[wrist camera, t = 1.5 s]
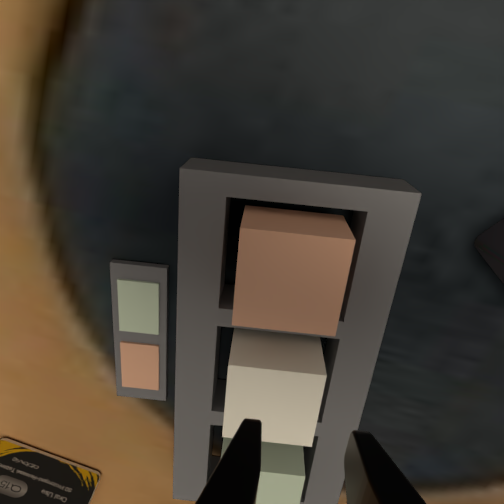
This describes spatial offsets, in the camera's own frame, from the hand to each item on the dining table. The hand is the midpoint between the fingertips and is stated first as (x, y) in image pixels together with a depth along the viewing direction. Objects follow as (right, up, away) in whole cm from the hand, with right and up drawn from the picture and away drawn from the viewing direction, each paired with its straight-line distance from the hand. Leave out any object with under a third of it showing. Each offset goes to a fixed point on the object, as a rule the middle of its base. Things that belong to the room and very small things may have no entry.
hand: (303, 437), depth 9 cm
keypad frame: (0, -1, +14) cm, 14 cm away
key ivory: (0, -2, +12) cm, 12 cm away
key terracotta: (+1, +4, +10) cm, 10 cm away
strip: (-8, 0, +14) cm, 16 cm away
